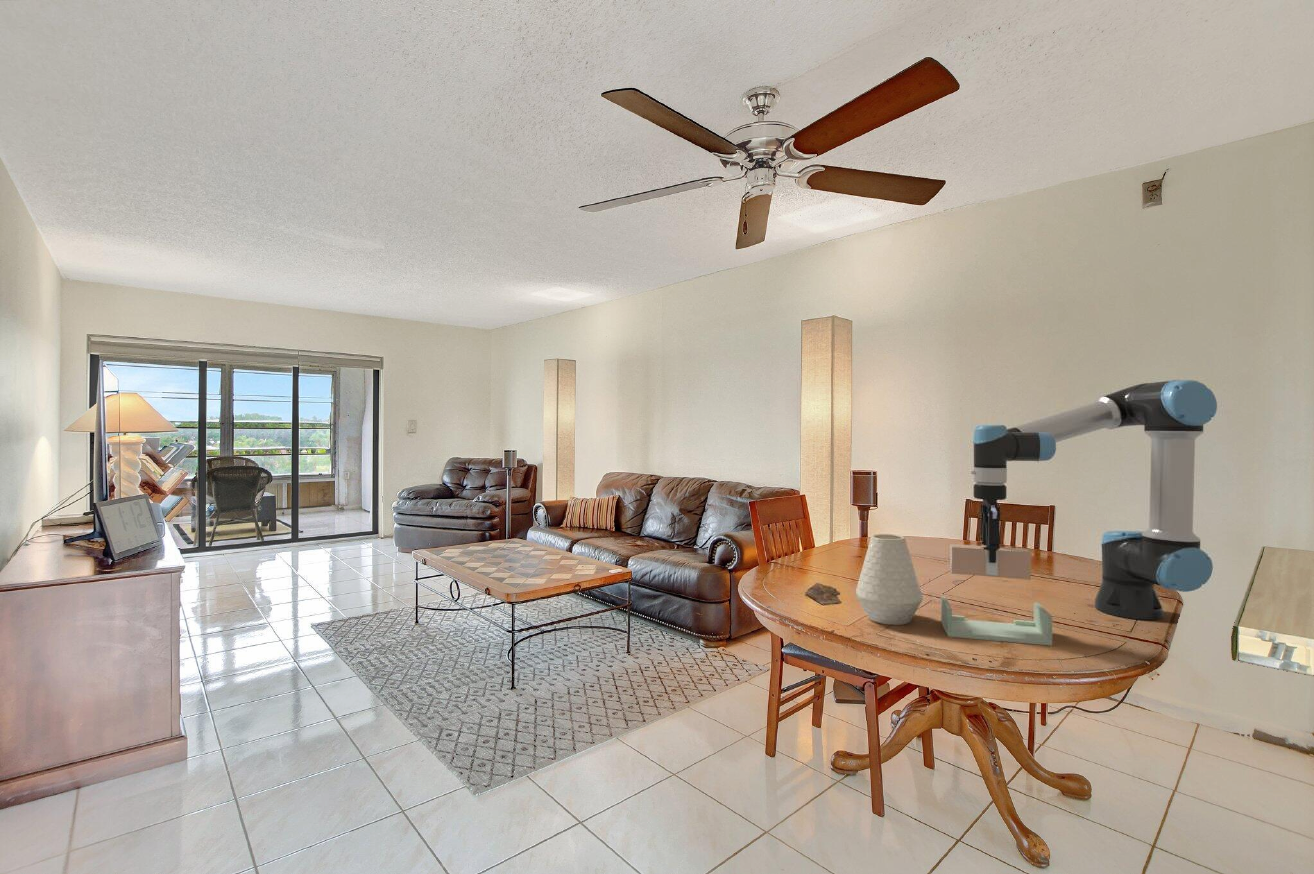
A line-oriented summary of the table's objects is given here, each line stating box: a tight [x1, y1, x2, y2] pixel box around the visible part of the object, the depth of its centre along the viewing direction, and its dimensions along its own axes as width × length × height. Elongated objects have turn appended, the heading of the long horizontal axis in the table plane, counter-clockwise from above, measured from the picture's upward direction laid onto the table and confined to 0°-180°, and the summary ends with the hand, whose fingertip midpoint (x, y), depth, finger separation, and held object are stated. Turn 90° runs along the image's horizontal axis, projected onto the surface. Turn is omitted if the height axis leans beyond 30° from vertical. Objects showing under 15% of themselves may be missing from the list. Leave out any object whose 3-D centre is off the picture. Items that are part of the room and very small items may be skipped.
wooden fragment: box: [804, 582, 842, 606], centre depth 190 cm, size 26×11×1 cm, turn 166°
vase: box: [855, 533, 924, 626], centre depth 164 cm, size 17×17×23 cm
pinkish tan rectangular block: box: [949, 543, 1032, 581], centre depth 154 cm, size 18×4×7 cm, turn 69°
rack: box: [940, 595, 1053, 646], centre depth 152 cm, size 23×12×7 cm, turn 72°
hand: (989, 572), depth 154 cm, fingers closed on pinkish tan rectangular block, 4 cm apart
